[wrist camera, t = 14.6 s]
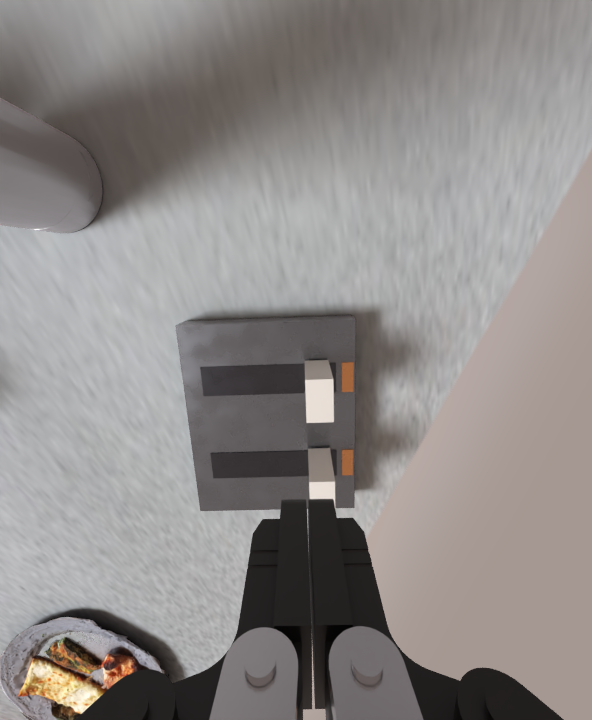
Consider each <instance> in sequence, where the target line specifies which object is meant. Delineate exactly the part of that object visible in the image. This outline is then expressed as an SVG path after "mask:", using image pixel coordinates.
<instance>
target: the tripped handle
mask: <svg viewBox="0 0 592 720" xmlns="http://www.w3.org/2000/svg"><path fill="white" fill-rule="evenodd" d="M308 464H309V494H310V499H333V500H334V505H335V478H334V471H333V465H332V458H331V451H330V448H313V449H308Z"/></svg>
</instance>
